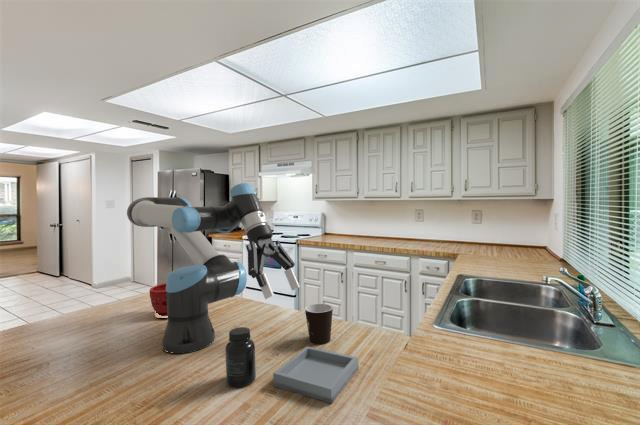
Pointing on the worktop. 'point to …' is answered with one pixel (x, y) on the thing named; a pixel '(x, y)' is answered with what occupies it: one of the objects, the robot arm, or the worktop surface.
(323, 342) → the coffee mug
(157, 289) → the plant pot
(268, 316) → the worktop surface
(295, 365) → the slate tray
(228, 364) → the supplement bottle
